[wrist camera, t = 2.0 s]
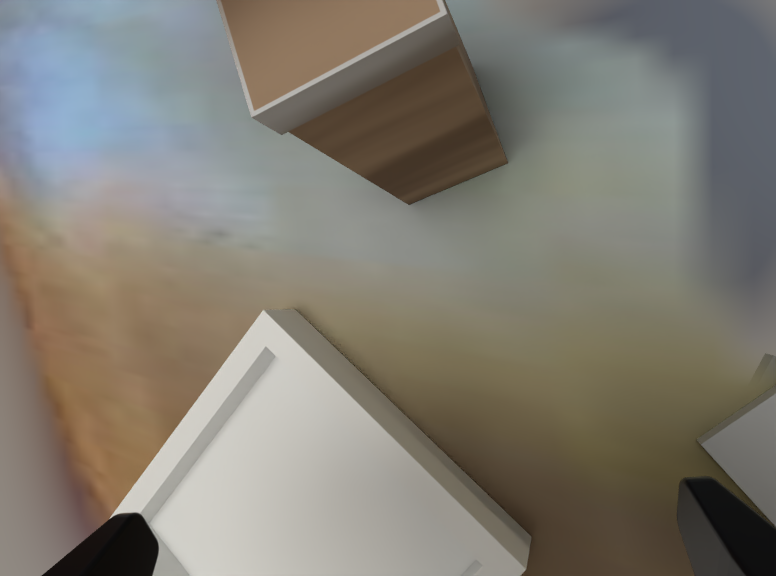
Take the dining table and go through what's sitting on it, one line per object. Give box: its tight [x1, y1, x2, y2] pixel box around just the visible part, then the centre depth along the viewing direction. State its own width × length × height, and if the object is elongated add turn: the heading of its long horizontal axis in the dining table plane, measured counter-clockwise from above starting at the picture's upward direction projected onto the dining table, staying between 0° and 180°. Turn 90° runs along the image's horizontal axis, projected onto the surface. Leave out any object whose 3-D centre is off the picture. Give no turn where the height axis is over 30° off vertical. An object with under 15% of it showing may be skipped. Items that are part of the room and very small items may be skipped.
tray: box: [110, 309, 532, 576], centre depth 21 cm, size 13×13×2 cm
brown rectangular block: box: [216, 0, 508, 205], centre depth 16 cm, size 4×4×11 cm
